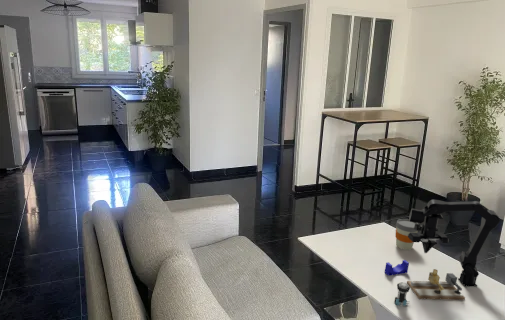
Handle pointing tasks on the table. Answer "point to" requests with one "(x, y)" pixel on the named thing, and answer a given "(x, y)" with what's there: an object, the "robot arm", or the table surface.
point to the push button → (402, 294)
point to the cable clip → (397, 268)
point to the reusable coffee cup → (404, 233)
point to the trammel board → (434, 290)
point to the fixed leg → (452, 281)
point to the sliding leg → (435, 279)
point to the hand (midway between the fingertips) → (425, 252)
